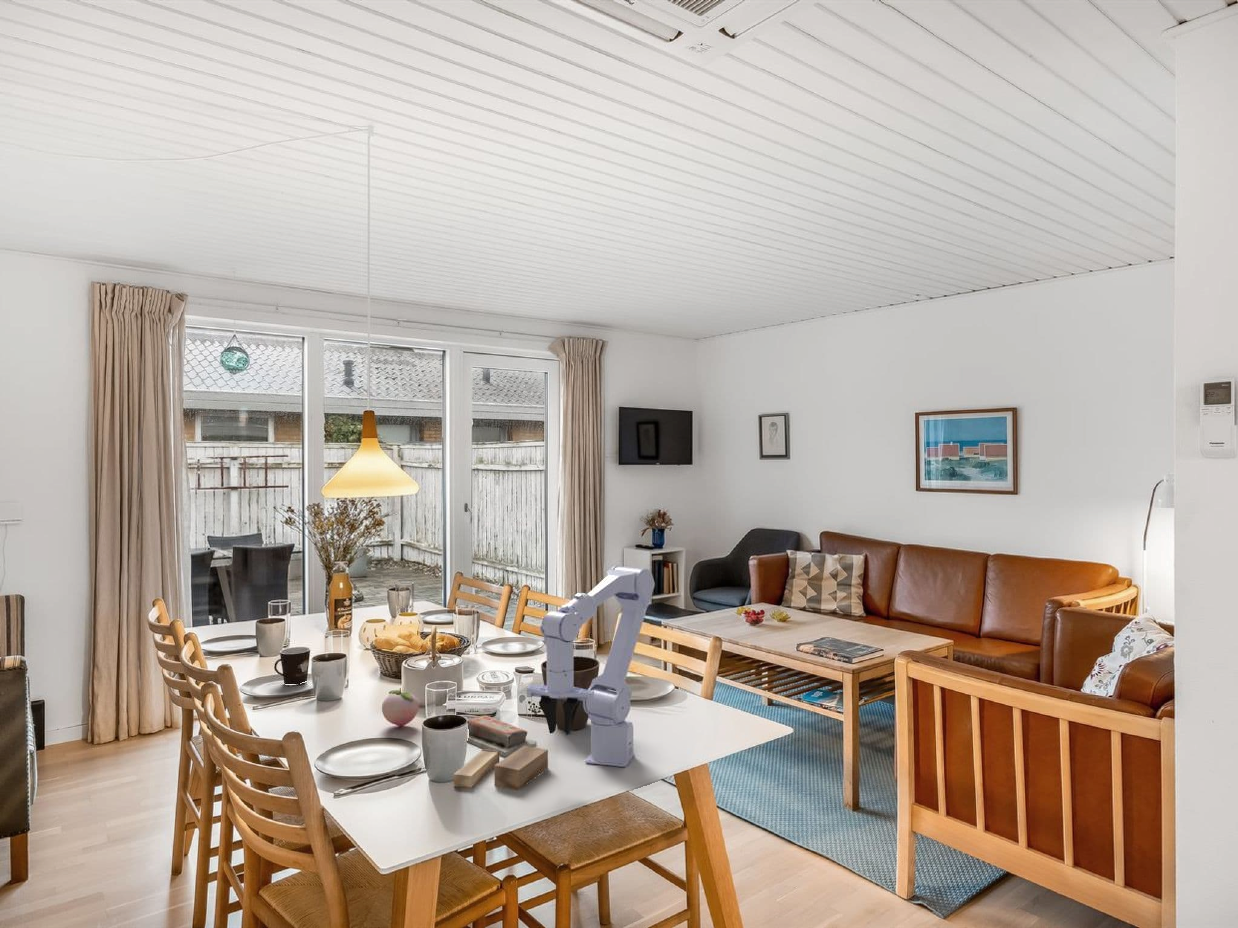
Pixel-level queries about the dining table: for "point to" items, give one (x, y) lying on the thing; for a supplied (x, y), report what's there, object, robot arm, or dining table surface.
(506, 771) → the block
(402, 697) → the decorative fruit
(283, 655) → the coffee mug
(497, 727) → the reddish brown brick
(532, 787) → the dining table surface
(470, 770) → the light wooden bar
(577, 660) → the plant pot
